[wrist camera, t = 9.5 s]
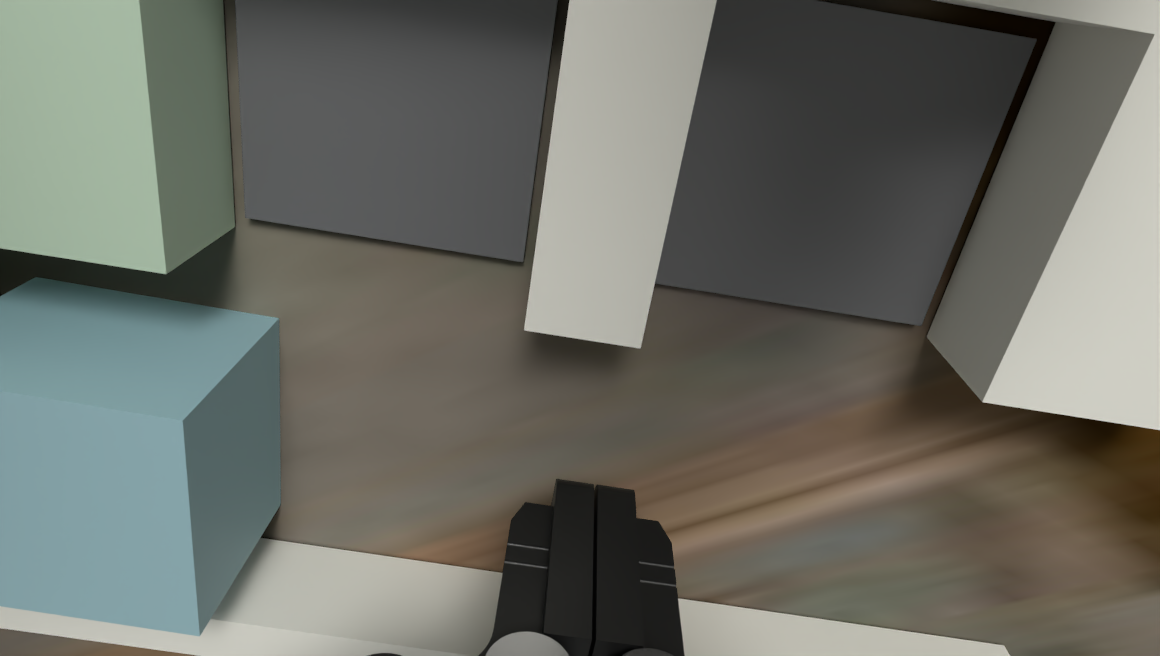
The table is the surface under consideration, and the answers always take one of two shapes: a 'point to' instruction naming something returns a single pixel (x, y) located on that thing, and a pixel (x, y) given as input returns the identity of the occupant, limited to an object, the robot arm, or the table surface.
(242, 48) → the trap lane
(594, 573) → the robot arm
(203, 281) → the table surface
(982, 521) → the table surface
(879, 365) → the table surface
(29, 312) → the push block
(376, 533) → the table surface
